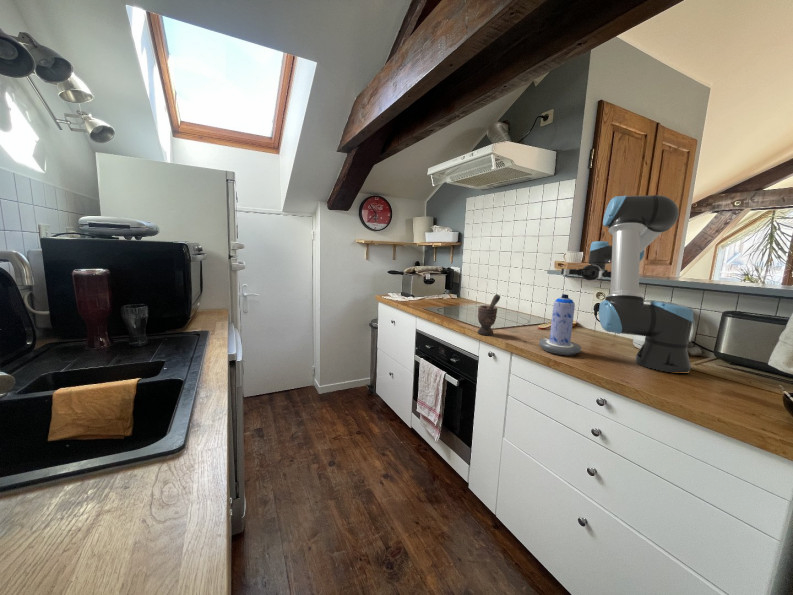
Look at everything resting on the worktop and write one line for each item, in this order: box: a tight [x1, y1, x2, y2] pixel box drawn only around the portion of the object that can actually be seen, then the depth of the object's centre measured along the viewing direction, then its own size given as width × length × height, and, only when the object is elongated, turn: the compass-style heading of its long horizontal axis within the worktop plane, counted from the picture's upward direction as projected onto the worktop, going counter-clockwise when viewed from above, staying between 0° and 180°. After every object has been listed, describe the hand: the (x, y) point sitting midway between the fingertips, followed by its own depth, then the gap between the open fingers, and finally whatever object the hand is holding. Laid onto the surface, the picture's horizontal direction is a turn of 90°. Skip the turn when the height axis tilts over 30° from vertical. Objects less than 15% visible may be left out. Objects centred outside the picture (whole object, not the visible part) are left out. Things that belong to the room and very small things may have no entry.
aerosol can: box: [549, 293, 576, 346], centre depth 123 cm, size 8×8×20 cm
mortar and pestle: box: [476, 294, 501, 336], centre depth 144 cm, size 12×9×20 cm
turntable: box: [538, 337, 582, 354], centre depth 124 cm, size 15×15×2 cm
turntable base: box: [542, 347, 577, 357], centre depth 125 cm, size 12×12×1 cm
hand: (581, 273), depth 135 cm, fingers open, 13 cm apart
